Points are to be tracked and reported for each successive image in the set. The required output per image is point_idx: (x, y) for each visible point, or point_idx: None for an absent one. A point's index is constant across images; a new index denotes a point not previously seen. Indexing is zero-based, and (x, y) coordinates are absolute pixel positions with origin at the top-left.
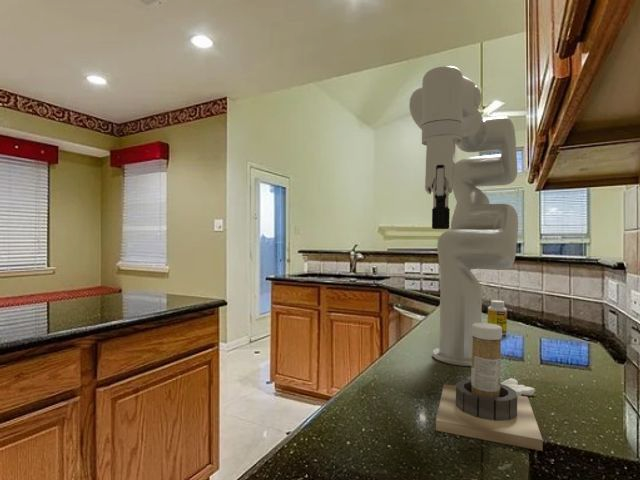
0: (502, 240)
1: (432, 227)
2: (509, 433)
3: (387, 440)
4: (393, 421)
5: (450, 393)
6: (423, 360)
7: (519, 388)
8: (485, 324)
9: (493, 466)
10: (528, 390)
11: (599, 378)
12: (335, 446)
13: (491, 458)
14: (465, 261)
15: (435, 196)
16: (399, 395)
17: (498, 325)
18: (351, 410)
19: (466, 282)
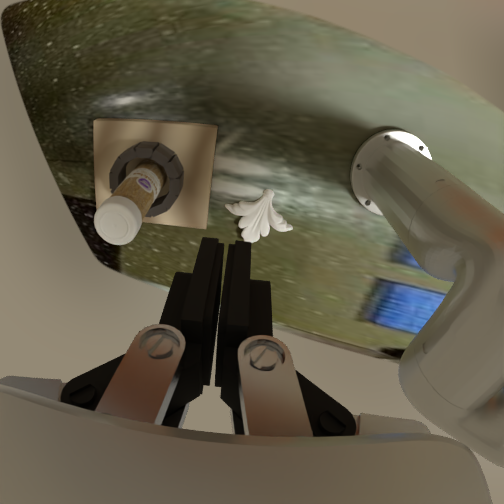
0: (417, 399)
1: (202, 239)
2: (95, 191)
3: (63, 76)
4: (103, 71)
5: (181, 135)
6: (373, 108)
7: (253, 227)
8: (118, 224)
9: (59, 169)
10: (242, 236)
11: (327, 319)
12: (40, 37)
13: (70, 168)
14: (453, 285)
15: (71, 393)
16: (185, 64)
17: (121, 242)
18: (116, 18)
19: (424, 253)
